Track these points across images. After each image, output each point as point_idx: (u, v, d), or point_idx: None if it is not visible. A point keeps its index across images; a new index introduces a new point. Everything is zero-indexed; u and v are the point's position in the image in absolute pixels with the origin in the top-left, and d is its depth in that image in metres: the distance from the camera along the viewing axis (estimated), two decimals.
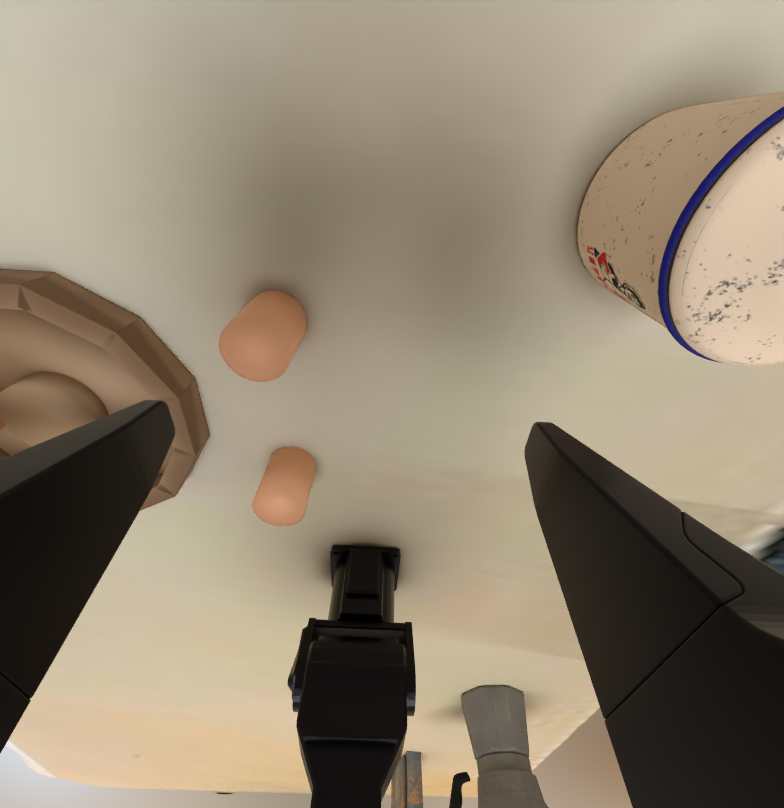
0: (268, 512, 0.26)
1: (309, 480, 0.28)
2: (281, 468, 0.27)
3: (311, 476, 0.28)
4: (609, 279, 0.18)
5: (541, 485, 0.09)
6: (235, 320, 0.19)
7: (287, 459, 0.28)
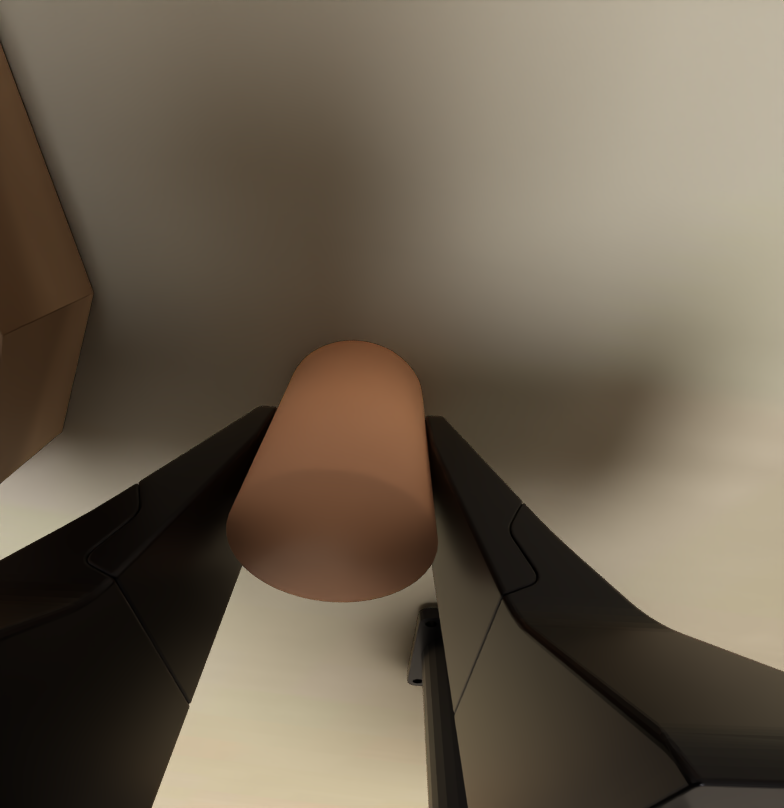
0: (291, 558, 0.07)
1: None
2: (336, 391, 0.07)
3: (425, 428, 0.09)
4: None
5: None
6: None
7: (352, 367, 0.08)
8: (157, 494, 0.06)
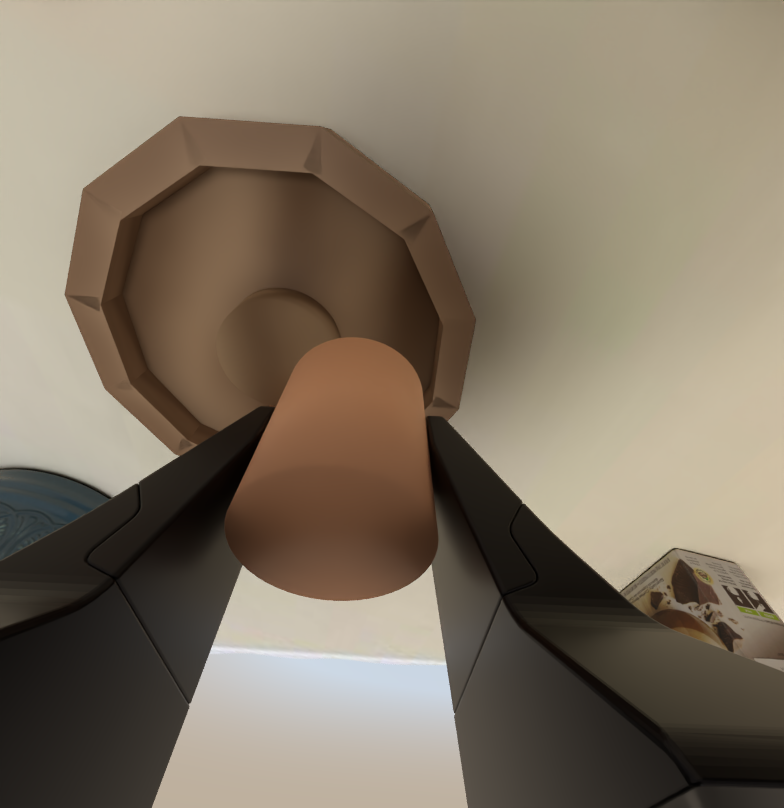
0: (290, 555, 0.07)
1: (427, 438, 0.08)
2: (336, 387, 0.07)
3: None
4: None
5: None
6: None
7: (352, 364, 0.08)
8: (157, 494, 0.06)
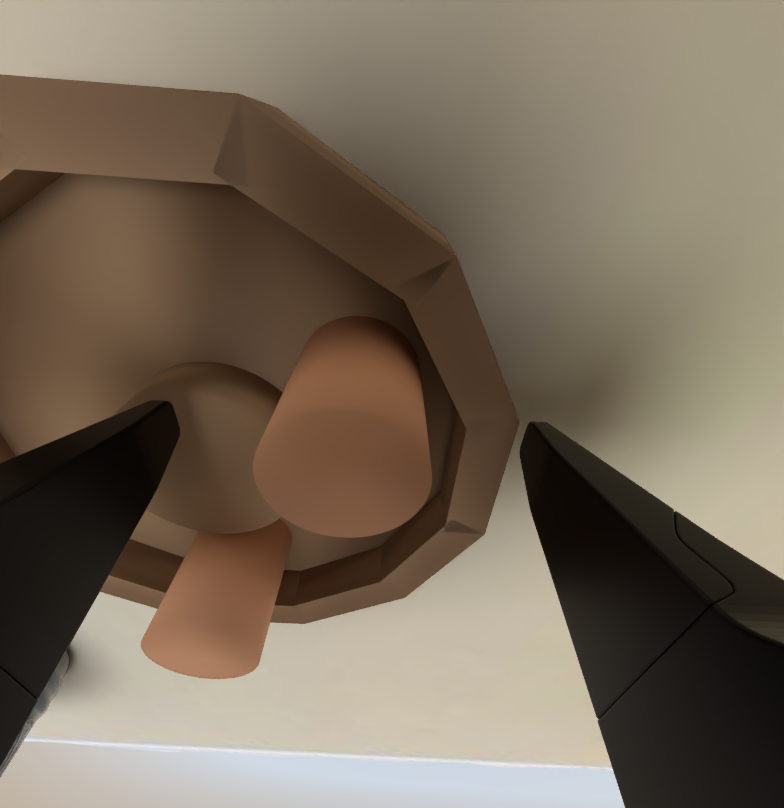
0: (307, 493, 0.08)
1: (423, 401, 0.09)
2: (345, 353, 0.09)
3: (422, 392, 0.10)
4: None
5: (536, 485, 0.09)
6: None
7: (358, 336, 0.09)
8: None
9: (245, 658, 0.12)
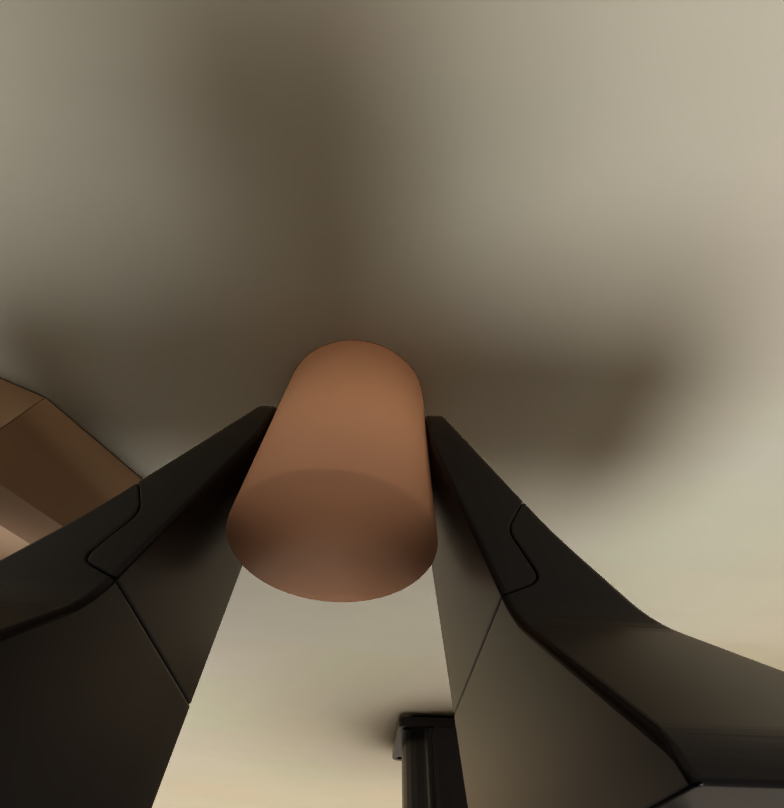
0: None
1: None
2: None
3: None
4: None
5: None
6: (280, 473, 0.06)
7: None
8: (157, 494, 0.06)
9: None
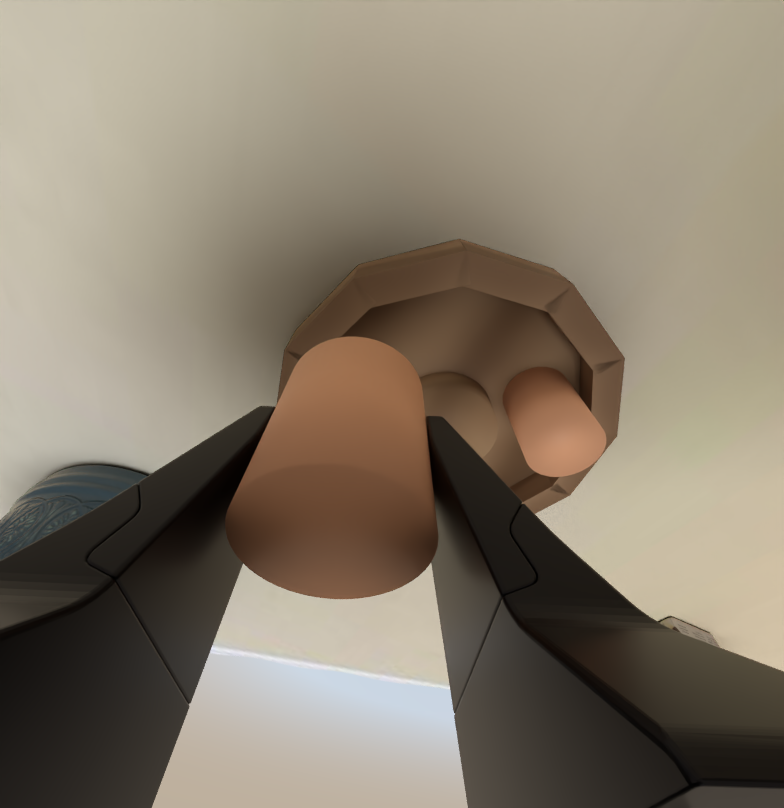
0: (545, 451, 0.17)
1: None
2: (564, 390, 0.18)
3: None
4: None
5: None
6: (279, 468, 0.06)
7: (561, 381, 0.19)
8: (157, 494, 0.06)
9: None
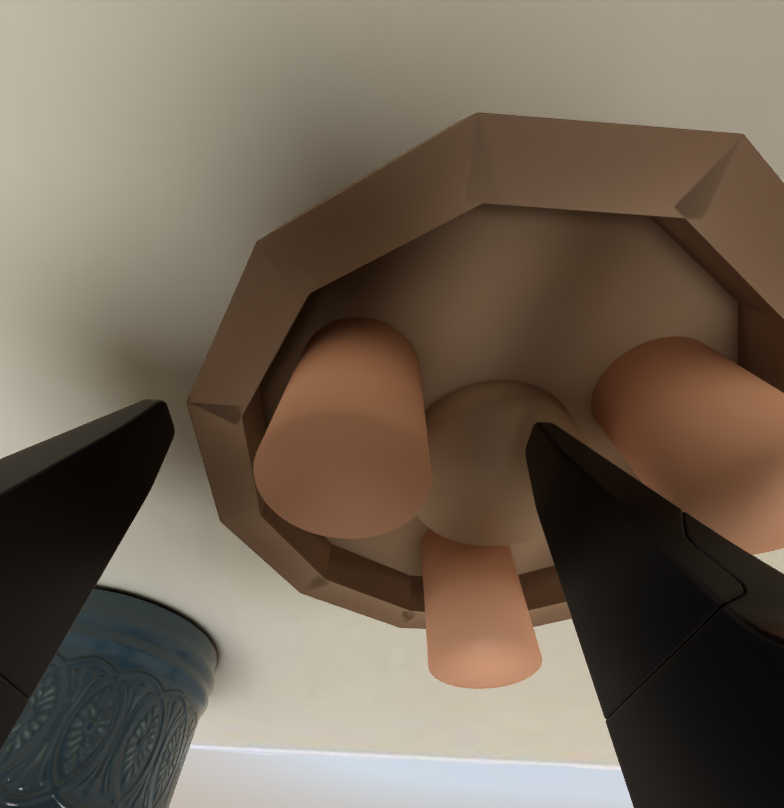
0: (727, 514, 0.08)
1: None
2: (736, 377, 0.09)
3: None
4: None
5: (542, 485, 0.09)
6: (301, 415, 0.07)
7: (717, 359, 0.10)
8: None
9: (524, 669, 0.12)
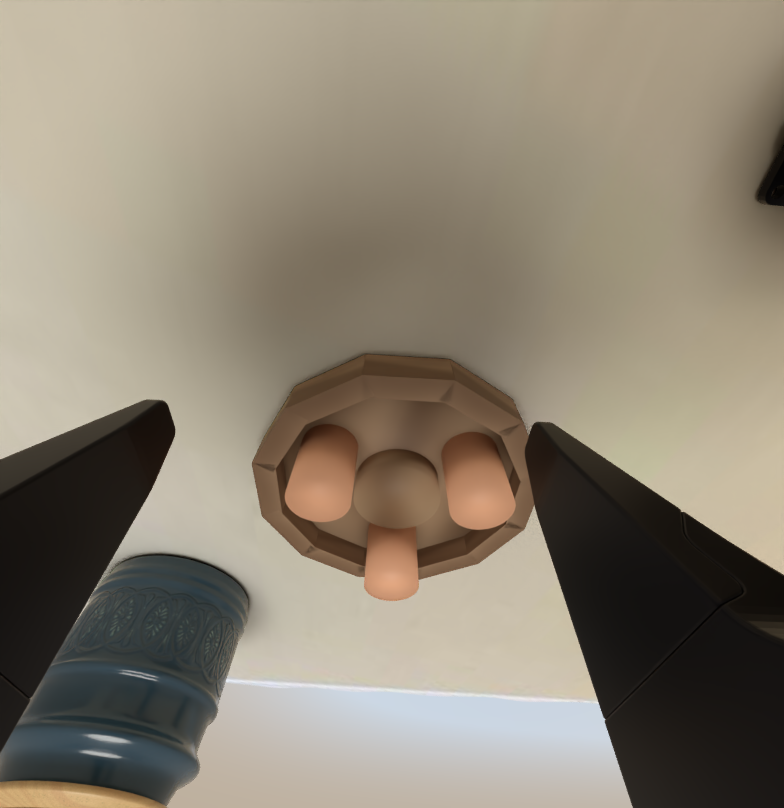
0: (467, 512, 0.21)
1: None
2: (478, 457, 0.22)
3: (503, 468, 0.23)
4: None
5: (541, 485, 0.09)
6: (302, 477, 0.20)
7: (479, 446, 0.22)
8: None
9: (411, 588, 0.25)
